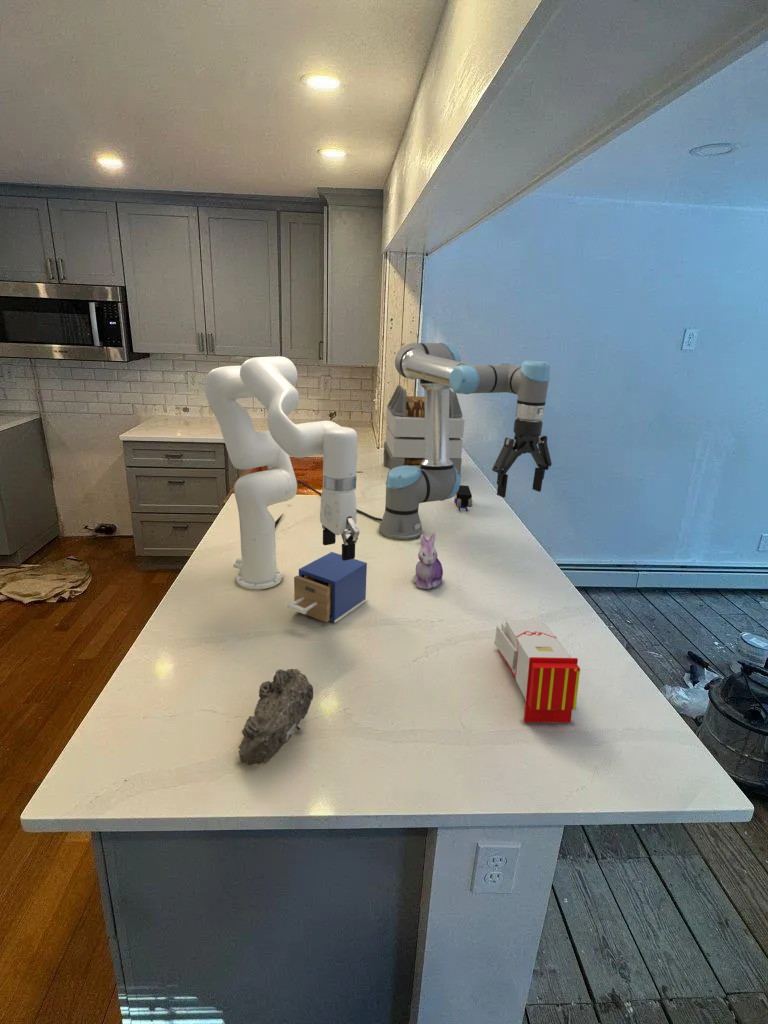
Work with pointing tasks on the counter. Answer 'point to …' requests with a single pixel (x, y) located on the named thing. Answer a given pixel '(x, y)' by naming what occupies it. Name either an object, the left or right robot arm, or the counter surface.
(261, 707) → the fossil
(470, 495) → the figurine character
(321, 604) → the drawer
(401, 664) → the counter surface
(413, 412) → the grey wooden crate
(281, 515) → the feather
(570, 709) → the toy
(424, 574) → the figurine
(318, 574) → the cabinet
